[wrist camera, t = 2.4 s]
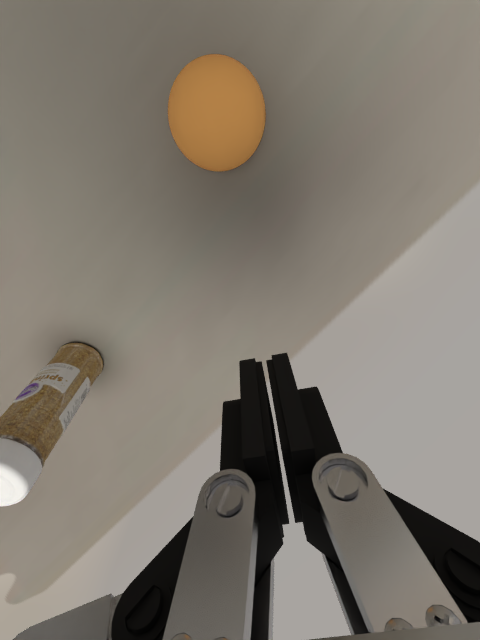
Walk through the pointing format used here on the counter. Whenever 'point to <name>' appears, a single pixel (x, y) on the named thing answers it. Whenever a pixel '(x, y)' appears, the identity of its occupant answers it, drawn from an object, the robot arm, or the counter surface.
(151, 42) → the counter surface
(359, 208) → the counter surface
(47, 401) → the sprinkles bottle
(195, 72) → the ball
